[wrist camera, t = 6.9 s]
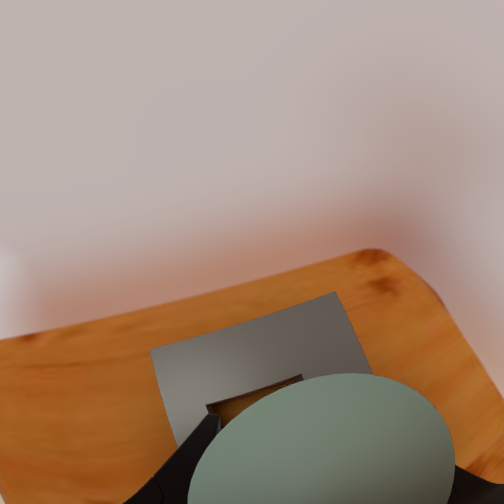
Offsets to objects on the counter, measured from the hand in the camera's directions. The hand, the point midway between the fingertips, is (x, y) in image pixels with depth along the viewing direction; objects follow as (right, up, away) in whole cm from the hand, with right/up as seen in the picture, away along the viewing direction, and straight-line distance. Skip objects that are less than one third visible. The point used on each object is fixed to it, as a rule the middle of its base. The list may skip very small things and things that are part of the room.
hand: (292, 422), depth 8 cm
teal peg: (0, -5, +5) cm, 7 cm away
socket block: (0, -7, +11) cm, 13 cm away
